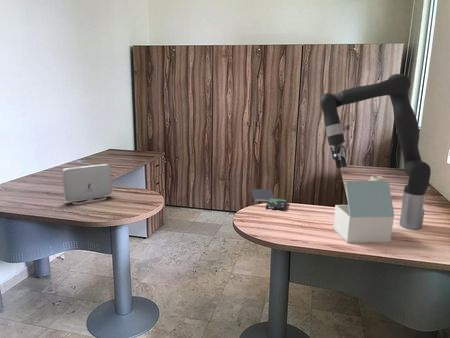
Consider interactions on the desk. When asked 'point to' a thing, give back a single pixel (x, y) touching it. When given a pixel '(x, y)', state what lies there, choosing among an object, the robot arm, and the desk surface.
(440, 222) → the desk surface
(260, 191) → the notebook
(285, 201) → the disk drive
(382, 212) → the lid flap
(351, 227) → the carton
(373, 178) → the character mug
